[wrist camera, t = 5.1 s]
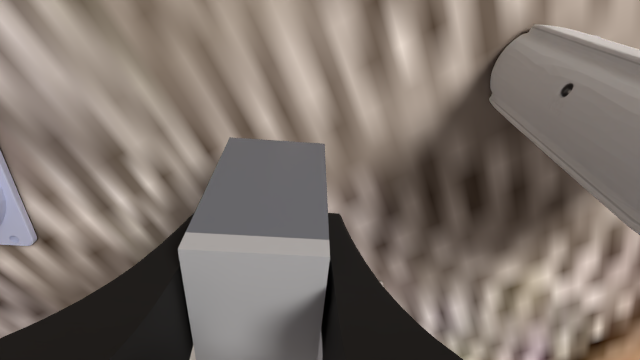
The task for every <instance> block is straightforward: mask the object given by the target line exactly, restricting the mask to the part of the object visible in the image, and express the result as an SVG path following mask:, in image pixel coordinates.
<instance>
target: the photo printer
mask: <svg viewBox="0 0 640 360" xmlns="http://www.w3.org/2000/svg"><path fill="white" fill-rule="evenodd" d="M490 88H491V91H492V95H491V97H490V98H489V101H490V103H491V104H492V105H493V107H494V108H495V109H496V110H497V111H498V112H499V113H501V114H502V115H503V116H504V117H505V118H506V119H507V120H508V121H509V122H510V123H511V124H513V125H514V126H515V127H516V128H517V129H518V130H519V131H521V132H522V133H523V134H524V135H525V136H526V137H527V138H528V139H530V140H531V141H532V142H533V143H534V144H535V145H536V146H537V147H538V148H540V149H541V150H542V151H543V152H544V153H545V154H546V155H547V156H549V157H550V158H551V159H552V160H553V161H554V162H555V163H557V164H558V165H559V166H560V167H561V168H562V169H563V170H564V171H566V172H567V173H568V174H569V175H570V176H571V177H572V178H573V179H575V180H576V181H577V182H578V183H579V184H580V185H581V186H583V187H584V188H585V189H586V190H587V191H588V192H589V193H591V194H592V195H593V196H594V197H595V198H596V199H598V200H599V201H600V202H601V203H602V204H603V205H604V206H606V207H607V208H608V209H609V210H610V211H611V212H612V213H614V214H615V215H616V216H617V217H618V218H619V219H620V220H622V221H623V222H624V223H625V224H626V225H627V226H629V227H630V228H631V229H632V230H634V231H635V232H636V233H638V234H639V235H640V50H639V49H636V48H633V47H629V46H626V45H623V44H619V43H616V42H613V41H609V40H606V39H602V38H601V37H599V36H596V35H589V34H586V33H583V32H579V31H576V30H572V29H568V28H563V27H557V26H549V25H533V26H532V28H531V29H530V31H529V32H528V33H525V34H522V35H520V36H519V37H517V38H516V39H515V40H513V41H512V42H511V43H510V44H509V45H508V46H507V47H506V48H505V49H504V50H503V52H502V53H501V54H500V56H499V57H498V59H497V61H496V63H495V65H494V68H493V70H492V73H491V80H490Z"/></svg>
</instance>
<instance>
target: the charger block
mask: <svg viewBox="0 0 640 360" xmlns="http://www.w3.org/2000/svg"><path fill="white" fill-rule="evenodd" d="M178 254H179V260H180V266H181V272H182V278H183V285H184V291H185V297H186V303H187V309H188V315H189V321H190V327H191V333H192V339H193V345H194V351H195V357H196V360H317V357H318V349H319V341H320V333H321V325H322V317H323V309H324V301H325V293H326V285H327V278H328V270H329V262H330V245H329V225H328V204H327V184H326V164H325V144H319V143H304V142H289V141H274V140H259V139H244V138H229V140H228V142H227V145H226V147H225V149H224V151H223V153H222V155H221V157H220V160H219V162H218V164H217V166H216V168H215V170H214V172H213V175H212V177H211V179H210V181H209V183H208V185H207V187H206V190H205V192H204V194H203V196H202V198H201V200H200V202H199V205H198V207H197V209H196V211H195V213H194V215H193V217H192V220H191V222H190V224H189V226H188V228H187V230H186V232H185V235H184V237H183V239H182V241H181V243H180V245H179V247H178Z"/></svg>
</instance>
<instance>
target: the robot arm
mask: <svg viewBox="0 0 640 360" xmlns="http://www.w3.org/2000/svg"><path fill="white" fill-rule="evenodd" d="M193 215H194V213H193V214H192V215H191V216H190V217H189V218H188V219H187V220H186V221H185V222H184V223H183V224H182V225H181V226H180V227H179V228H178V229H177V230H176V231H175V232H174V233H173V234H172V235H170V236H169V237H168V238H167V239H166V240H165V241H164V242H163V243H162V244H160V245H159V246H158V247H157V248H156V249H155V250H153V251H152V252H151V253H150V254H148V255H147V256H146V257H145V258H144V259H142V260H141V261H140V262H139V263H137V264H136V265H135V266H133V267H132V268H131V269H129V270H128V271H126V272H125V273H123V274H122V275H120V276H119V277H118V278H116V279H115V280H113V281H112V282H110V283H108V284H107V285H105V286H103V287H102V288H100V289H98V290H97V291H95V292H93V293H92V294H90V295H88V296H87V297H85V298H83V299H82V300H80V301H78V302H76V303H74V304H72V305H71V306H69V307H67V308H65V309H63V310H61V311H59V312H57V313H55V314H53V315H51V316H49V317H47V318H45V319H43V320H41V321H39V322H37V323H34V324H32V325H30V326H28V327H25V328H23V329H21V330H19V331H16V332H14V333H12V334H9V335H7V336H5V337H3V338H0V360H190V356H191V352H192V348H193V339H192V333H191V327H190V321H189V315H188V309H187V303H186V297H185V291H184V285H183V278H182V272H181V266H180V260H179V254H178V247H179V245H180V243H181V241H182V239H183V237H184V235H185V232H186V230H187V228H188V226H189V224H190V222H191V220H192V217H193ZM328 225H329V245H330V262H329V270H328V278H327V285H326V293H325V301H324V309H323V317H322V325H321V336H322V353H323V360H463V359H462V358H460V357H459V356H458V355H456V354H455V353H454V352H452V351H451V350H450V349H448V348H447V347H446V346H444V345H443V344H442V343H440V342H439V341H438V340H437V339H435V338H434V337H433V336H432V335H431V334H429V333H428V332H427V331H426V330H425V329H424V328H422V327H421V326H420V325H419V324H418V323H417V322H416V321H415V320H414V319H413V318H412V317H411V316H410V315H409V314H408V313H407V312H406V311H405V310H404V309H403V308H402V307H401V306H400V305H399V304H398V303H397V302H396V301H395V300H394V299H393V297H392V296H391V295H390V294H389V293H388V292H387V290H386V289H385V288H384V287H383V286H382V284H381V283H380V282H379V281H378V279H377V278H376V277H375V275H374V274H373V272H372V271H371V269H370V268H369V267H368V265H367V264H366V262H365V261H364V259H363V258H362V256H361V254H360V253H359V251H358V249H357V248H356V246H355V244H354V242H353V241H352V239H351V237H350V235H349V233H348V231H347V229H346V227H345V225H344V222H343V220H342V217H341V216H340V215H339V214H335V213H328ZM36 240H37V236H36V233H35V231H34V229H33V226H32V224H31V222H30V219H29V217H28V214H27V212H26V210H25V207H24V205H23V203H22V200H21V198H20V196H19V193H18V191H17V188H16V186H15V184H14V181H13V179H12V177H11V174H10V172H9V169H8V167H7V165H6V162H5V160H4V158H3V155H2V153H1V151H0V245H19V246H30V245H32V244H33V243H34V242H35V241H36Z"/></svg>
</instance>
